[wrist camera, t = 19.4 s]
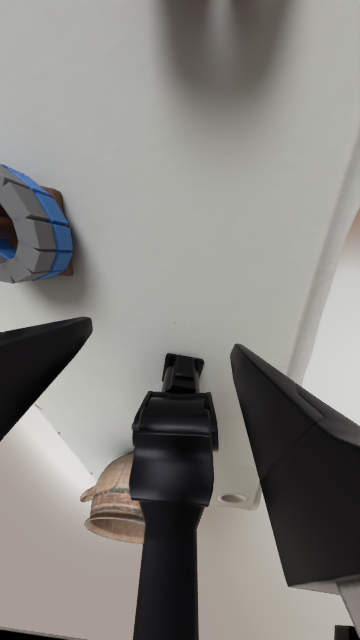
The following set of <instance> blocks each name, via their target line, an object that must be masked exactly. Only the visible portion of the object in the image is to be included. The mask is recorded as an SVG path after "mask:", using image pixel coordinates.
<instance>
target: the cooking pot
mask: <svg viewBox="0 0 360 640" xmlns="http://www.w3.org/2000/svg"><path fill="white" fill-rule="evenodd" d="M133 457H134V452H132V453H130V454H127V455H124V456H122V457H120V458H118V459H116V460H114V461H113V462H112V463H110V464H109V465H108V466H107V467H106V468H105V470H104V471H103V472H102V474H101V475H100V477H99V479H98V481H97V483H96V485H95V486H94V487H92V488H90V489H88V490H86V491H85V492H84V493H83V494H82V495H81V498H80V501H81V502H86V501H90V500H92V505H91V514H90V518H89V519H88V520H86V521H85V523H84V526H85V527H86V528H87V529H88V530H89V531H91V532H93V533H95V534H98V535H100V536H103V537H106V538H110V539H114V540H118V541H124V542H130V543H138V544H143V541H144V531H145V523H144V519H143V515H142V512H141V508H140V504H139V501H132V500H131V497H130V490H129V478H130V473H131V468H132V463H133ZM90 494H91V495H90ZM87 495H88V496H87Z"/></svg>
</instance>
